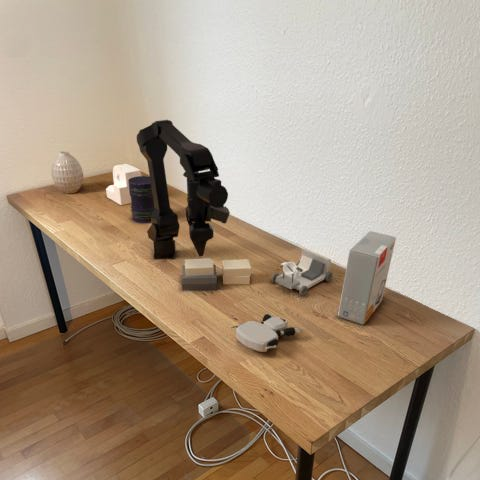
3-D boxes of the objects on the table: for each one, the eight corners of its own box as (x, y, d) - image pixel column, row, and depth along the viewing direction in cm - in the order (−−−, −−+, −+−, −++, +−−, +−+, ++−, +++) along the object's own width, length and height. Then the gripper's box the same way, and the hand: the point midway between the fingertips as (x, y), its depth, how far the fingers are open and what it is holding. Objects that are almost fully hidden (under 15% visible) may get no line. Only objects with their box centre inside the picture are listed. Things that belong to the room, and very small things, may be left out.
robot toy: (266, 321, 129) (226, 340, 119) (268, 306, 126) (227, 325, 117) (302, 341, 122) (262, 363, 112) (304, 325, 119) (264, 347, 110)
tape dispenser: (143, 199, 203) (140, 170, 196) (121, 205, 197) (117, 174, 190) (124, 190, 213) (121, 161, 206) (103, 194, 207) (98, 165, 200)
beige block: (222, 284, 143) (222, 269, 140) (222, 274, 149) (222, 259, 146) (250, 284, 144) (251, 269, 141) (249, 274, 149) (249, 259, 146)
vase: (50, 190, 210) (42, 151, 201) (77, 184, 218) (70, 146, 209) (63, 198, 203) (55, 157, 194) (91, 191, 210) (85, 152, 201)
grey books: (182, 290, 140) (181, 278, 138) (183, 276, 147) (182, 264, 145) (216, 290, 141) (216, 278, 138) (216, 276, 148) (216, 264, 146)
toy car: (298, 270, 131) (266, 256, 138) (295, 300, 136) (264, 286, 143) (336, 250, 142) (304, 238, 148) (331, 279, 147) (302, 267, 154)
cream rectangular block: (186, 276, 139) (185, 268, 137) (184, 267, 144) (184, 259, 142) (213, 275, 140) (213, 267, 138) (211, 265, 145) (211, 258, 143)
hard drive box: (364, 326, 126) (377, 257, 115) (336, 317, 130) (347, 250, 119) (382, 300, 137) (396, 236, 126) (357, 293, 141) (368, 229, 130)
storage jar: (161, 215, 189) (158, 177, 181) (153, 224, 181) (150, 185, 173) (137, 212, 190) (133, 175, 182) (128, 222, 182) (123, 183, 174)
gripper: (232, 207, 123) (232, 262, 132) (222, 184, 138) (222, 234, 147) (189, 209, 121) (191, 264, 130) (184, 185, 137) (186, 236, 145)
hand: (199, 249), depth 138 cm, fingers open, 9 cm apart
